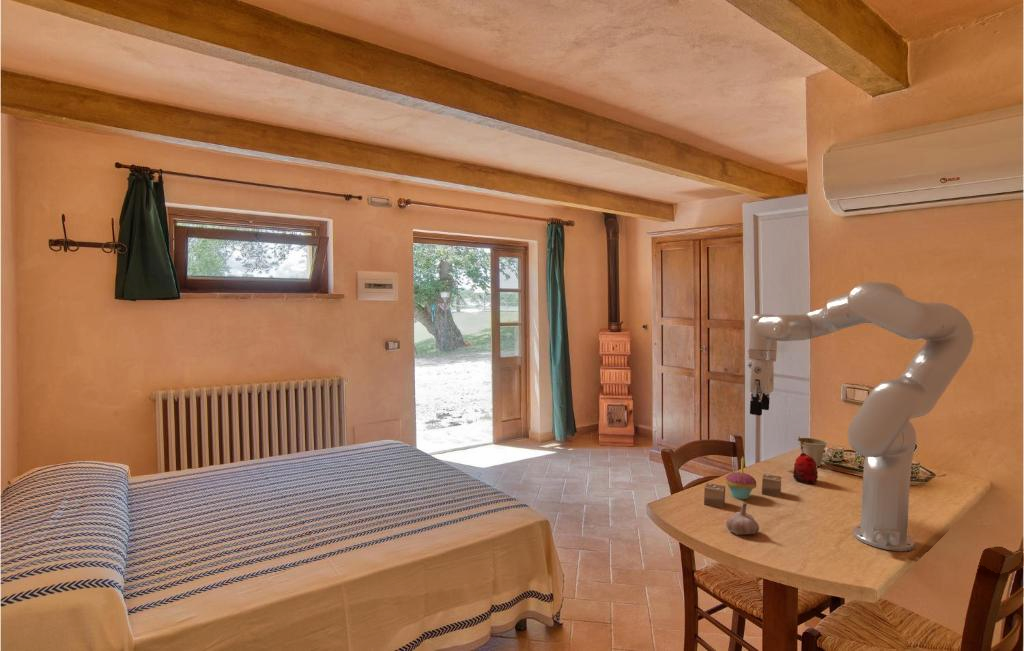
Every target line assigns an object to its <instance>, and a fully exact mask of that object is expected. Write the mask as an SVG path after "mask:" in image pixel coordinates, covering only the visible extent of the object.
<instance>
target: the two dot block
mask: <svg viewBox="0 0 1024 651" xmlns="http://www.w3.org/2000/svg"><path fill="white" fill-rule="evenodd" d="M781 494H782V476H780V475H773V474H768V473H763V474H762V482H761V495H764V496H768V497H769V496H770V497H777V498H781Z"/></svg>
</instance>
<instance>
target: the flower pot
mask: <svg viewBox="0 0 1024 651" xmlns="http://www.w3.org/2000/svg"><path fill="white" fill-rule="evenodd" d="M800 438H801V439H802V438H803V439H802V442H804V445H803V444H802V446H803V453H805V454H806V455H808V456H811V457H812V458H813V459H814V461H815V462H816V466H819V467H821V466H820V465H822V460H823V456H824V451H825V448H826V446H827V445H828V443H827V441H826V440H822V439H818V438H813V437H800ZM796 439H797V440H796V441H797V442H798V445H799V453H800V454H801V453H802V449H801V442H800V441H798V440H800V439H799V437H798V438H796Z"/></svg>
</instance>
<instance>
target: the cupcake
mask: <svg viewBox="0 0 1024 651" xmlns="http://www.w3.org/2000/svg"><path fill="white" fill-rule="evenodd" d="M744 466H745V458H744V457H741V465H740V471H738V472H737V471H734V472H731V473H730V474H728V475H726V476H725V484H726V485H727V486H728V488H729V491H730V495H731V496H732V497H733V498H735V499H739V500H747V499H749V497H750V494H751V492H752V490H753V489H755V488H757V481H756V478H754V476H752V475H751V474H748V473H745V472H744Z"/></svg>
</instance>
